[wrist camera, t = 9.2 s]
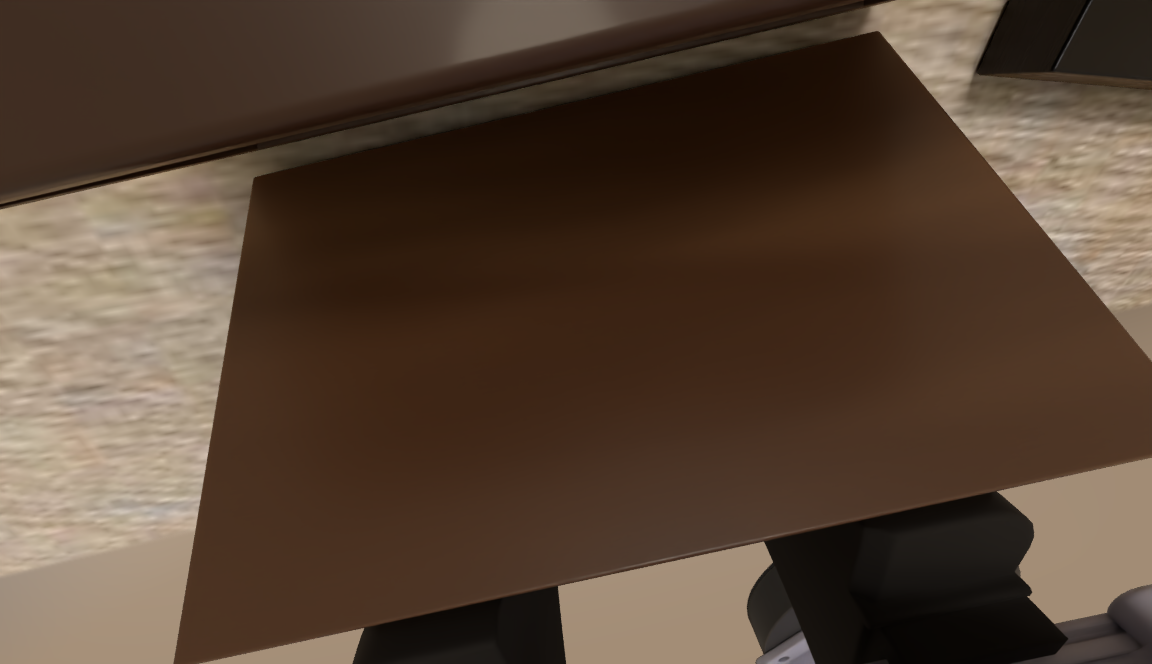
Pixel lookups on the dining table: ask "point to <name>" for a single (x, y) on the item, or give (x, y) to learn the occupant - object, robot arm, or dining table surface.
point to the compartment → (299, 70)
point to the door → (634, 347)
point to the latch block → (1074, 42)
